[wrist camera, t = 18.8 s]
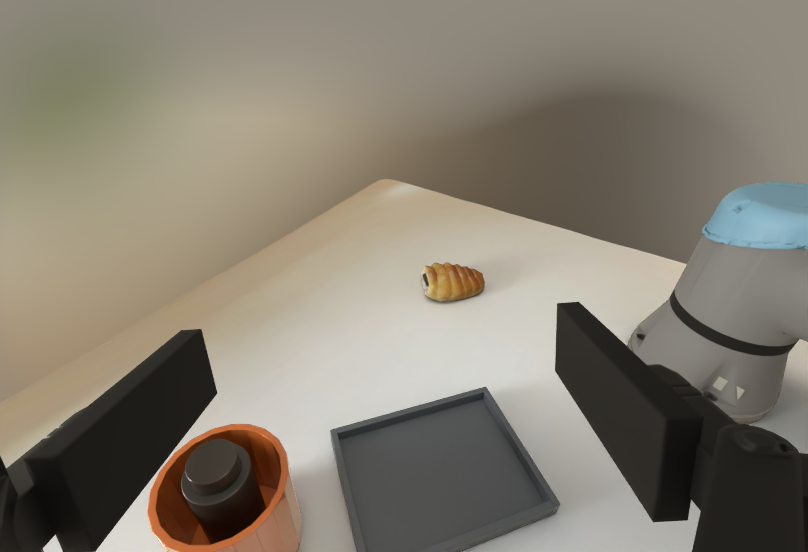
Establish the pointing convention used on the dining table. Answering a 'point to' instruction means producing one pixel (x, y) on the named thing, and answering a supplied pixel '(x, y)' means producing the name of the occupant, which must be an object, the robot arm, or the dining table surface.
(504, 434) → the tray
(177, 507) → the pot
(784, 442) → the robot arm
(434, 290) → the pastry
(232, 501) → the pepper mill
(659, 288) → the dining table surface
